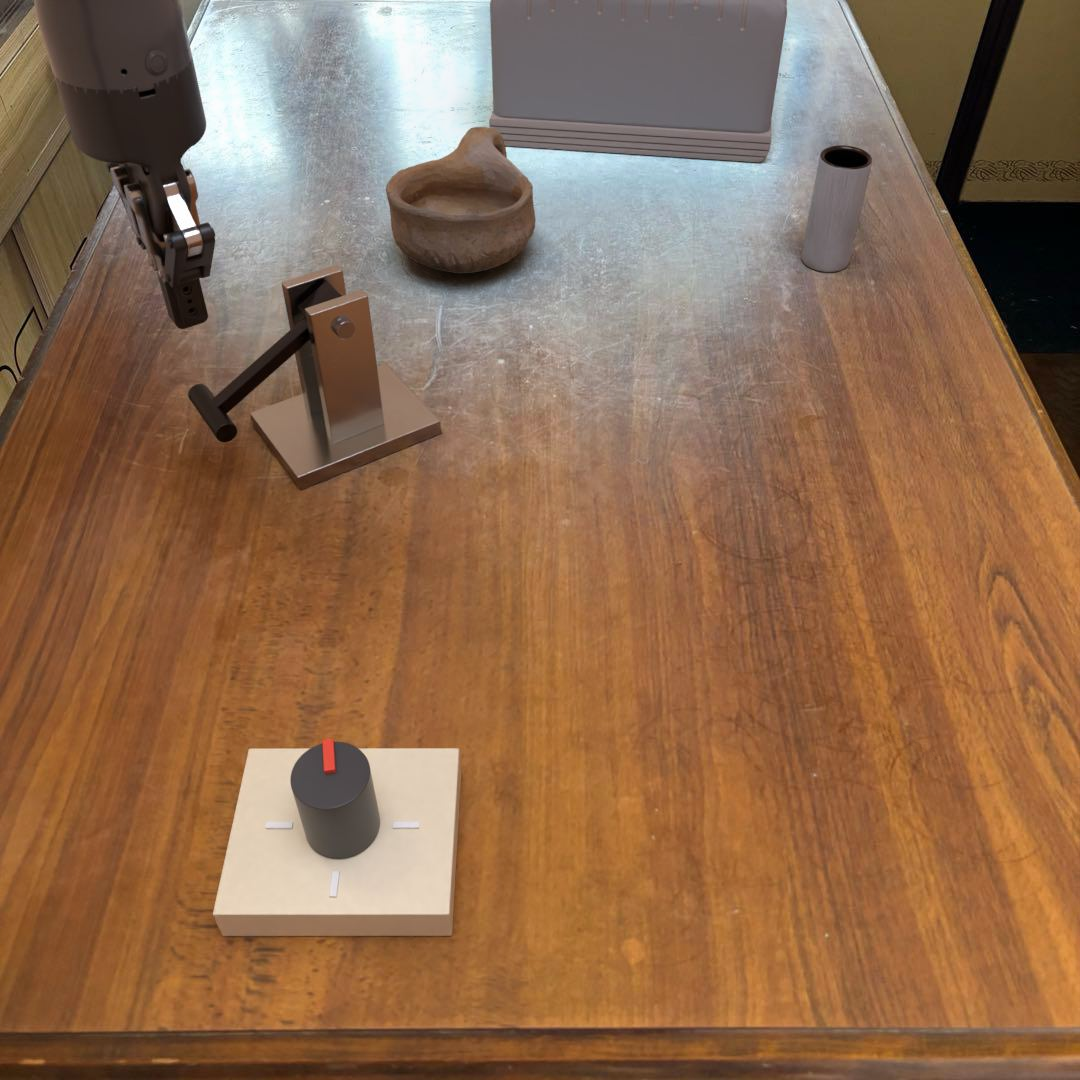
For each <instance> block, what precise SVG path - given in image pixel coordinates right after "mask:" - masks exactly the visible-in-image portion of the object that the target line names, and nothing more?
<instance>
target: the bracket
mask: <svg viewBox="0 0 1080 1080" xmlns="http://www.w3.org/2000/svg"><path fill="white" fill-rule="evenodd" d="M325 281H328V282H329V283H330V284H331V285H332V286H333V287H334V288H335V289H336V290H337V291H338V292H339V293H340V295H341V297H338V298H335V299H332V300H329V301H326V302H323V303H320V304H317V305H314V306H311V307H308V308H305V313H306V315H305V314H304V313H303V312H302V311H301V310H300V308H299V307H298V305H299V304H301V303H302V302H303V301H304V300H305V299H306V298H307V297H308V296H310V295H311V294H312V293H313V292H314V291H315V290H316V289H317V288H319V287H320V286H321V285H322V284H323V283H324V282H325ZM280 284H281V289H282V293H283V299H284V305H285V310H286V315H287V320H288V325H289V326H288V327H289V330H291V329H292V328H293V327H294V326H295V325H296V324H297V323H298V322H300V321H301V320H302V319H303V318H304V317H305V316H306V319H307V324H308V330H309V335H310V340H309V341H308V342H307V343H306V344H305V345H304V346H302V347H301V348H300V349H299V350H298V351H297V352H296V353H295V354H294V356H295V361H296V368H297V372H298V377H299V382H300V388H301V394H298V395H295V396H292V397H290V398H287V399H284V400H282V401H281V400H280V401H279V402H276V403H273V404H270V405H268V406H265V407H263V408H259V409H256V410H253V411H252V412H249V413H250V419H251V423H252V426H253V428H254V429H255V431H256V432H257V434H259V436H260V437H261V439H262V440H263V441H264V443H265V444H266V445H267V447H268V448H269V450H270V451H271V452H272V453H273V455H274V456H275V458H276V460H278V462H279V463H280V464H281V466H282V467H283V469H284V471H286V473H287V474H288V475H289V476H290V478H291V479H292V481H293V482H294V483H295V486H297V488H298V489H299V491H302V490H305V489H306V488H309V487H311V486H314V485H317V484H319V483H321V482H324V481H327V480H329V479H331V478H334V477H337V476H339V475H341V474H344V473H346V472H349V471H351V470H354V469H356V468H359V467H361V466H363V465H366V464H369V463H371V462H374V461H376V460H379V459H381V458H384V457H387V456H389V455H391V454H393V453H396V452H398V451H402V450H403V449H406V448H409V447H411V446H413V445H416V444H418V443H422V442H424V441H427V440H429V439H430V438H433V437H436V436H438V435H441V434H442V427H441V426H442V425H441V420H440V419H439V418H438V417H437V416H436V414H435V413H434V412H433V411H432V410H431V408H429V407H428V406H427V405H426V403H424V401H422V399H421V398H420V397H419V396H418V395H417V394H416V393H415V392H414V390H412V388H410V386H409V385H408V384H407V383H406V382H405V381H404V380H403V379H402V377H400V376H399V375H398V373H397V372H396V371H395V370H394V369H393V368H392V367H391V366H390V365H389V364H388V363H387V362H385V363H383V364H379V365H378V364H377V362H378V361H377V355H376V349H375V340H374V332H373V324H372V317H371V316H372V315H371V309H370V302H369V295H368V294H367V293H366V292H365V291H364V290H363V289H359V290H356V291H352V292H350V293H347V291H346V283H345V277H344V270H343V268H341V267H340V266H339V265H338V264H333V265H330V266H327V267H324V268H321V269H320V268H319V269H318V270H314V271H312V272H311V271H310V272H308V273H305V274H302V275H299V276H296V277H293V278H288V279H286V280H283V281H281V282H280Z"/></svg>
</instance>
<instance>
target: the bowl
mask: <svg viewBox="0 0 1080 1080" xmlns="http://www.w3.org/2000/svg"><path fill="white" fill-rule="evenodd" d="M457 145H458V146H457V147H456V149H454V150H453V151H451V152H450V153H449V154H447V155H445V156H443V157H441V158H438V159H433V160H429V161H426V162H422V163H418V164H415V165H412V166H409V167H406V168H402V169H400V170H398V171H397V172H396V173H395V174H393V175H392V176H391V177H390V179H389V180H388V182H387V183H386V186H385V193H386V194H385V195H386V198H387V202H388V206H389V215H390V229H391V232H392V236H393V239H394V243H395V244H396V246H397V247H398V248H399V250H400V251H401V252H402V253H403V254H404V255H405V256H407V257H408V258H409V259H412V261H414V262H417V263H419V264H422V265H423V266H426V267H428V268H431V269H434V270H437V271H440V272H446V273H455V274H468V273H469V274H471V273H472V274H473V273H478V272H483V271H487V270H490V269H494V268H497V267H499V266H501V265H503V264H505V263H508V262H510V261H511V260H512V259H513V258H515V257H516V256H518V255H519V254H520V253H521V252H522V251H523V250H525V248H526V247H527V245H528V244H529V241H530V239H531V238H532V236H533V235H534V231H535V228H536V212H535V205H534V192H533V191H534V189H533V188H534V186H533V184H532V182H531V181H530V180H529V178H528V177H527V176H526V175H525V174H524V173H523V172H522V171H521V170H520V169H519V168H518V167H517V166H516V165H515V164H514V163H513V162H512V161H511V160H509V158H508V155H507V148H506V146H505V143H504V140H503V137H502V136H501V134H500V133H499V132H498V131H497V130H495V129H493V128H490V127H488V126H473V127H470V128H469V129H468V130H467V131H466V132H465V134H464V135H463V136H462V137H461V139H460V141H459V143H458V144H457Z"/></svg>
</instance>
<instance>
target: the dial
mask: <svg viewBox="0 0 1080 1080" xmlns="http://www.w3.org/2000/svg"><path fill="white" fill-rule="evenodd" d="M321 741H322V743H319V744H316V745H314V746H312V747H310V748H311V749H309V750H307V751H306V752H305V753H304V754H303V755H301V757H300V758H299V759H298V760H297V762H296V763H295V765H294V767H293V769H292V772H291V779H290V782H291V788H292V791H293V795H294V798H295V801H296V805H297V808H298V812H299V815H300V818H301V822H302V825H303V829H304V832H305V835H306V839H307V841H308V843H309V845H310V846H311V848H312V849H313V850H314V851H315V852H317V853H318V854H320V855H322V856H324V857H327V858H331V859H346V858H350V857H353V856H356V855H358V854H360V853H361V852H363V851H364V850H365V849H367V848H368V847H369V846H370V845H371V844H372V842H373V841H374V840H375V838H376V836H377V834H378V832H379V828H380V816H379V810H378V805H377V800H376V795H375V790H374V785H373V780H372V775H371V770H370V765H369V762H368V759H367V757H366V756H365V755H364V753H363V752H362V751H361V750H360V749H358V748H359V747H357V746H355V745H353V744H351V743H348V742H344V741H334V738H325V739H322V740H321Z"/></svg>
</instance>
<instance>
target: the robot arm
mask: <svg viewBox="0 0 1080 1080" xmlns="http://www.w3.org/2000/svg"><path fill="white" fill-rule="evenodd" d="M33 2H34V9H35V14H36V15H35V16H36V21H37V23H38V28H39V31H40V34H41V35H40V36H41V39H42V42H43V44H44V48H45V51H46V55H47V58H48V62H49V64H50V68H51V72H52V74H53V78H54V81H55V85H56V88H57V91H58V94H59V97H60V101H61V104H62V107H63V111H64V114H65V117H66V121H67V123H68V126H69V127H68V128H69V130H70V133H71V138H72V140H73V143H74V144H75V146H76V147H77V148H78V150H79V151H80V152H82V153H83V154H84V155H86V156H87V157H89V158H92V159H94V160H95V161H96V160H97V161H100V162H104V163H105V167H106V170H107V172H108V173H109V174H110V177H111V179H112V182H113V186H114V187H115V190H116V191H117V193H118V196H119V198H120V200H121V203H122V205H123V208H124V209H125V213H126V214H127V218H128V221H129V224H130V228H131V230H132V231H133V233H134V234H135V237H136V238H135V239H136V242H137V244H138V246H140V248H141V249H142V250H143V251H145V250H146V253H147V257H148V259H147V261H148V264H149V266H150V267H151V268H152V269H153V271H154V272H156V275H157V279H158V281H159V285H160V289H161V293H162V296H163V300H164V304H165V307H166V311H167V315H168V317H169V318H170V319H171V321H172V322H173V324H175V326H176V327H177V328H178V329H180V330H186V329H189V328H192V327H195V326H197V325H200V324H204V323H206V321H207V320H208V318H209V313H208V309H207V305H206V301H205V297H204V292H203V288H202V284H201V279H205V278H209V277H210V276H211V271H212V266H213V265H212V264H213V260H214V259H213V258H214V252H215V245H216V232H215V229H214V228H213V227H212V226H211V224H210V223H209V222H202V223H200V218H199V213H198V207H197V200H198V198H199V192H198V188H197V182H196V180H195V177H194V176H195V175H193V172H192V169H190V168H184V165H183V164H182V158H183V156H184V155H185V154H186V153H187V152H188V150H189V149H191V148H193V147H194V146H195V145H197V144H198V143H199V142H200V141H201V140H202V138H203V136H205V133H206V130H207V119H206V114H205V110H204V104H203V100H202V96H201V91H200V87H199V86H200V85H199V81H198V77H197V72H196V67H195V62H194V59H193V53H192V50H191V43H190V40H189V36H188V30H187V25H186V19H185V16H184V12H183V8H182V4H181V1H180V0H33Z"/></svg>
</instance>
